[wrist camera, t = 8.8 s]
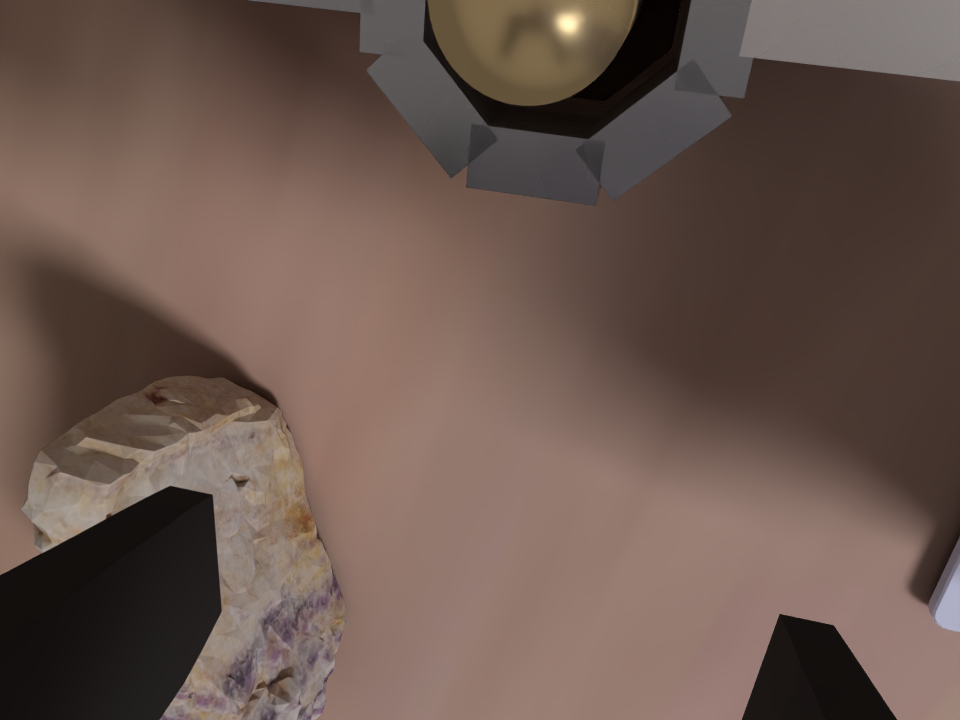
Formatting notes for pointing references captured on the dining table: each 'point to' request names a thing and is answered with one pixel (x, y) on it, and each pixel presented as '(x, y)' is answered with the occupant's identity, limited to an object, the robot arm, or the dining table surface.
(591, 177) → the hinge
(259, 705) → the mineral specimen
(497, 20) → the hinge pin
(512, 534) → the dining table surface
